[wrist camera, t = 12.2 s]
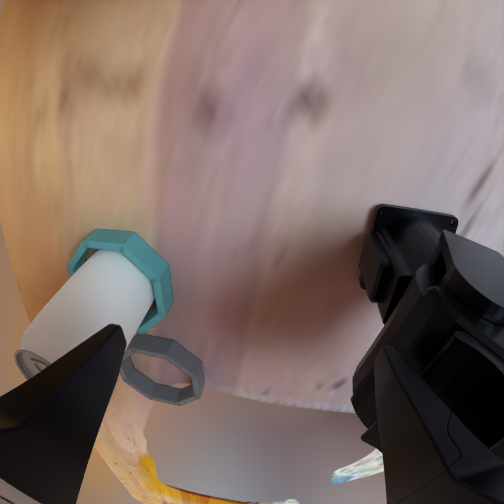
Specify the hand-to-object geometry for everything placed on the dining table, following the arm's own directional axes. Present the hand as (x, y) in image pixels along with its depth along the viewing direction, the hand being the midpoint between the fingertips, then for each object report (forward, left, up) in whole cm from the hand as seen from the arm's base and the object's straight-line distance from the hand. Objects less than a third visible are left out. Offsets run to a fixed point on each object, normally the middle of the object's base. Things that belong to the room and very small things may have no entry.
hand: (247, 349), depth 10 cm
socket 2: (+10, +18, -12) cm, 24 cm away
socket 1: (+12, +7, -12) cm, 18 cm away
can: (+12, +7, -12) cm, 18 cm away
